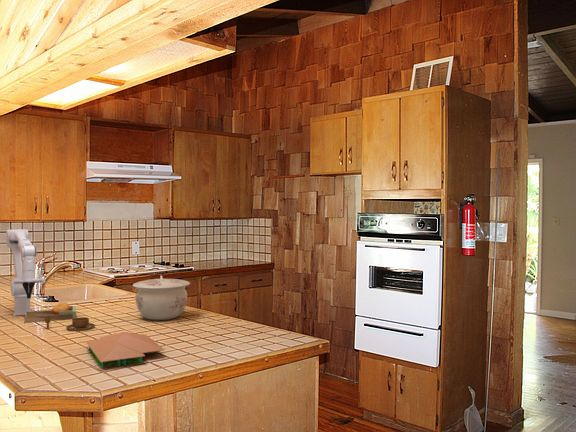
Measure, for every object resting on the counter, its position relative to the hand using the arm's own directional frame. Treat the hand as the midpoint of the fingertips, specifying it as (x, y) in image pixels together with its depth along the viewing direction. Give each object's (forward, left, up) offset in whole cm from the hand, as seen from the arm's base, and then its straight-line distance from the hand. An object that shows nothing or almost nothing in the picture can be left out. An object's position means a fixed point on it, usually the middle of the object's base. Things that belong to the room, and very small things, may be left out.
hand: (29, 298), depth 265 cm
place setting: (+28, +20, -11) cm, 36 cm away
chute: (+2, +9, -10) cm, 14 cm away
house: (+82, +37, -11) cm, 91 cm away
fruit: (+2, +14, -10) cm, 18 cm away
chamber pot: (+22, +60, -10) cm, 65 cm away
